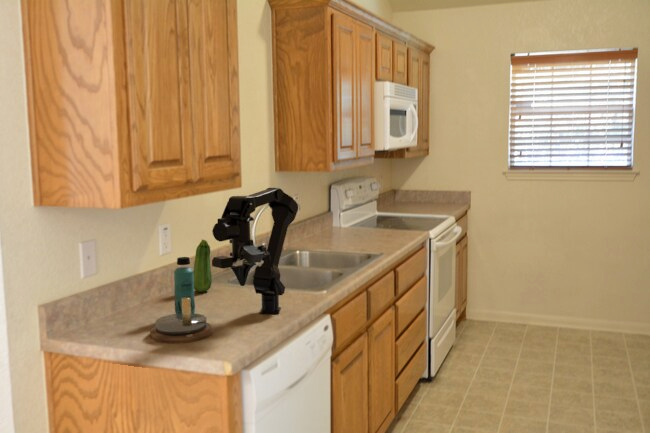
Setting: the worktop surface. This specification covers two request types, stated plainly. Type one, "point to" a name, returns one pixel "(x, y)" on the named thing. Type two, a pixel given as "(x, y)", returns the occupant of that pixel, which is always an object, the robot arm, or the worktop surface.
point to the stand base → (181, 336)
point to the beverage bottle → (183, 284)
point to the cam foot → (181, 321)
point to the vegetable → (202, 268)
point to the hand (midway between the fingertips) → (242, 285)
